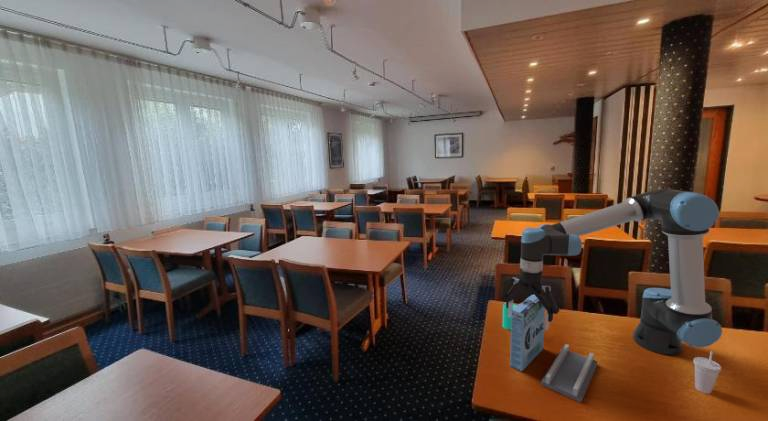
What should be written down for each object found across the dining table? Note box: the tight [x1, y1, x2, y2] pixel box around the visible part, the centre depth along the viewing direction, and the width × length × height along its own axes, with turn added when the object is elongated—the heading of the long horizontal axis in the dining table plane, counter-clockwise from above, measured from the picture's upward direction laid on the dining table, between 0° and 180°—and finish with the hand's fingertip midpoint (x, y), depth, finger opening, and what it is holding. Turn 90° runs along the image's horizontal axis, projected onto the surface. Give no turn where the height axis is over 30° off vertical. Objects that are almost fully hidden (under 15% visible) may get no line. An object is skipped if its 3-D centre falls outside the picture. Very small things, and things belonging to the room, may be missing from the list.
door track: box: [540, 343, 598, 403], centre depth 112 cm, size 12×24×4 cm, turn 136°
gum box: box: [509, 294, 546, 372], centre depth 121 cm, size 20×5×23 cm, turn 132°
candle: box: [502, 302, 517, 331], centre depth 144 cm, size 6×6×12 cm
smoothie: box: [692, 350, 722, 395], centre depth 102 cm, size 6×6×14 cm
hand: (527, 322), depth 120 cm, fingers open, 13 cm apart
